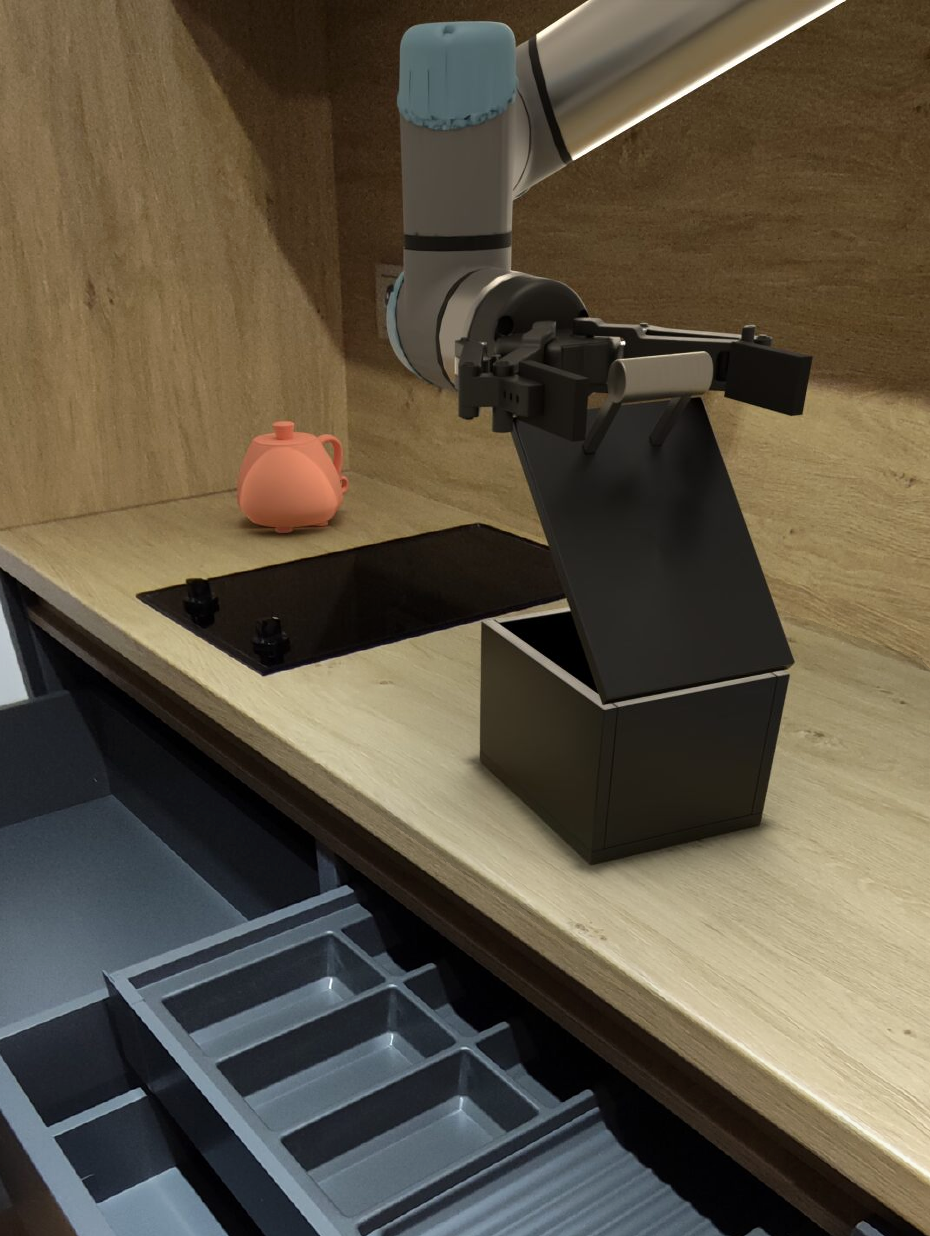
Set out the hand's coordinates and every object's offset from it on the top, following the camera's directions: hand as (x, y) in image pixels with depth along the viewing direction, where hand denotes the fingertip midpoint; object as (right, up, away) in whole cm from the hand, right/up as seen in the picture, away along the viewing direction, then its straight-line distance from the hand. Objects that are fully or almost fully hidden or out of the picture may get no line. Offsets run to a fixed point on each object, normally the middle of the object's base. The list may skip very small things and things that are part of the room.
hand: (695, 398), depth 58 cm
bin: (-1, -15, +19) cm, 24 cm away
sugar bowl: (-29, +32, +73) cm, 85 cm away
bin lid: (-1, -4, +7) cm, 9 cm away
